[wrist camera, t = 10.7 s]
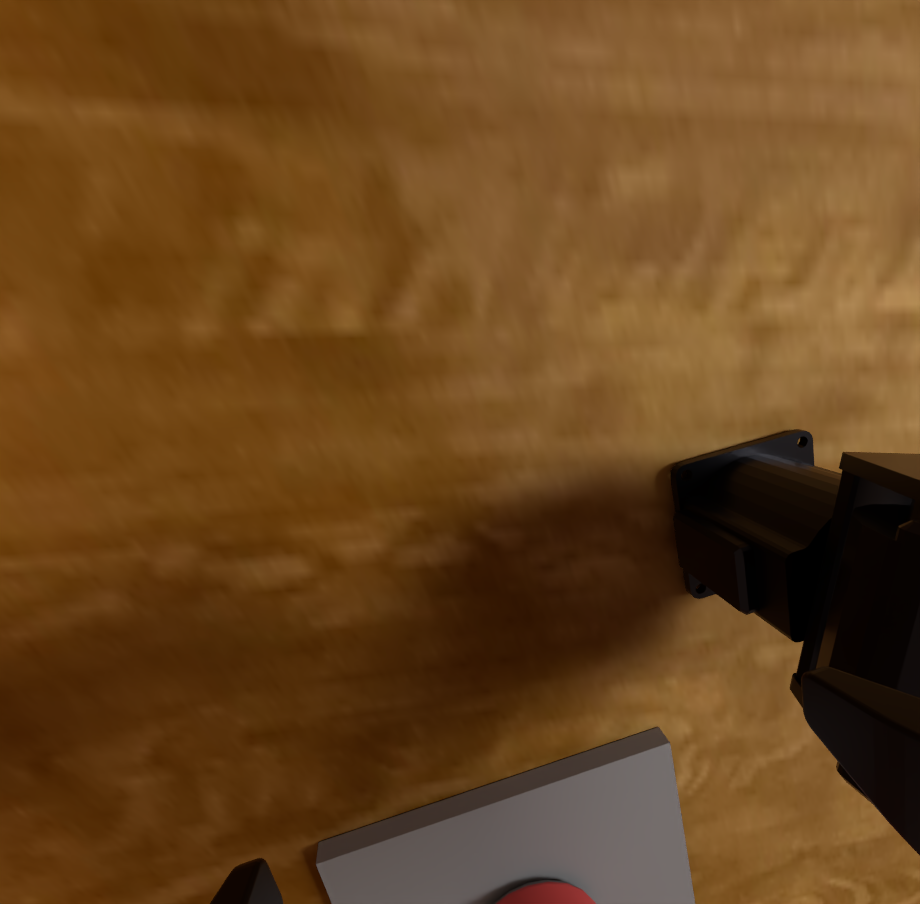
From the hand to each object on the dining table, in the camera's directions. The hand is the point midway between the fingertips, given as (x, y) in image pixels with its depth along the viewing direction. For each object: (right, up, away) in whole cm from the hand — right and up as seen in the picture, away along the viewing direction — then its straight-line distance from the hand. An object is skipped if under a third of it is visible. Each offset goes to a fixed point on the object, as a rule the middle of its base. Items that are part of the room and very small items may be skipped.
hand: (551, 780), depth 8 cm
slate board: (+2, -18, +18) cm, 25 cm away
